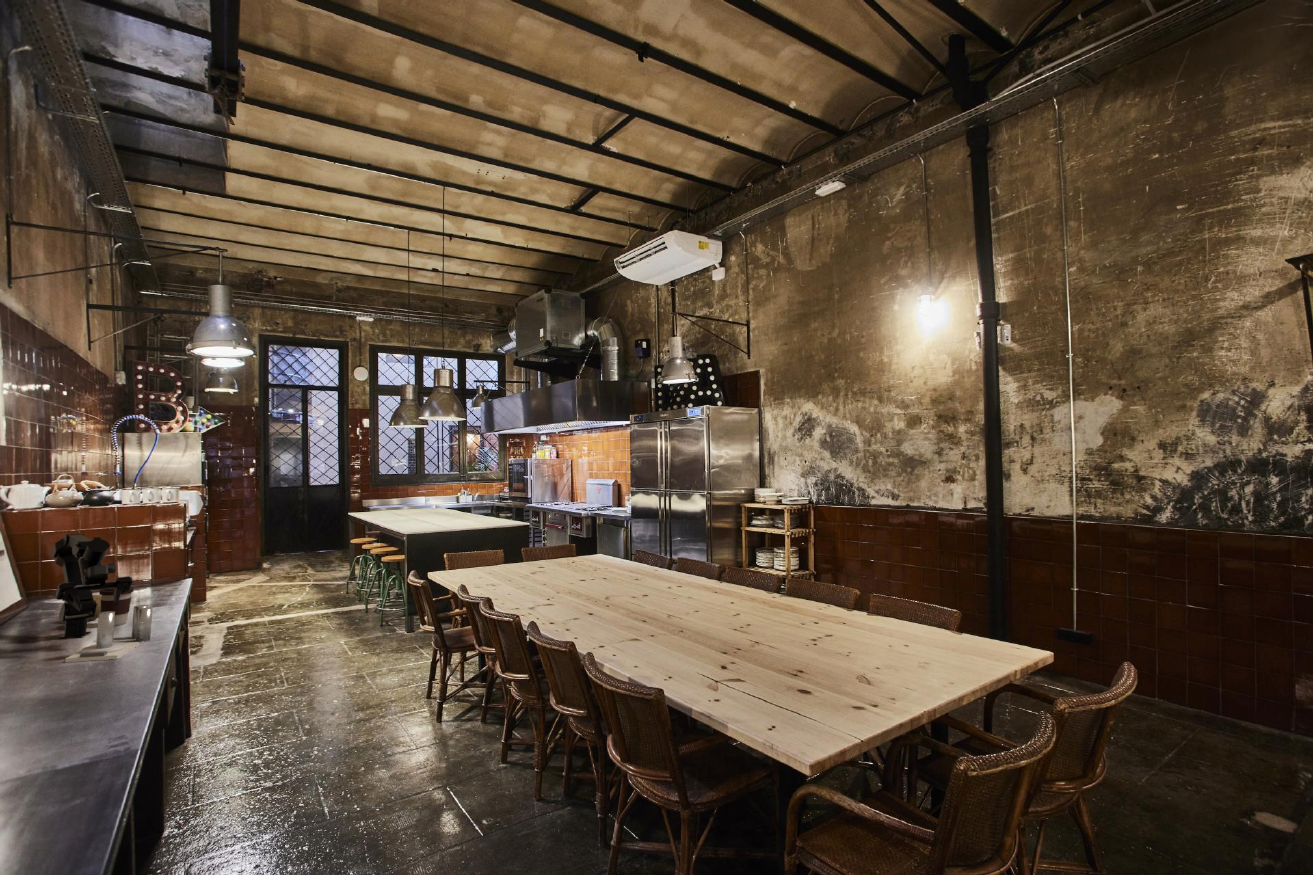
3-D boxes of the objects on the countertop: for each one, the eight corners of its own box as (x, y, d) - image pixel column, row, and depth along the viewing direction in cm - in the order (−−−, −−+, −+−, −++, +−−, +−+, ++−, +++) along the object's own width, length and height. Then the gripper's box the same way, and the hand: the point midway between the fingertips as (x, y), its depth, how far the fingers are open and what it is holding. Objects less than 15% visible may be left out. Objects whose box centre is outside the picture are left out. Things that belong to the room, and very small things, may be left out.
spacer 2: (134, 636, 221) (136, 605, 222) (147, 635, 223) (150, 604, 223) (129, 639, 218) (131, 607, 218) (143, 638, 219) (145, 606, 220)
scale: (91, 648, 206) (92, 640, 206) (139, 645, 210) (139, 638, 211) (65, 662, 191) (65, 654, 191) (116, 659, 195) (117, 651, 196)
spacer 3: (138, 639, 218) (140, 607, 218) (152, 638, 219) (154, 607, 220) (133, 642, 214) (135, 610, 215) (147, 641, 215) (149, 609, 216)
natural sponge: (86, 624, 236) (88, 597, 236) (68, 622, 237) (70, 596, 238) (111, 618, 244) (113, 593, 245) (94, 617, 246) (96, 591, 247)
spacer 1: (95, 646, 201) (98, 612, 202) (112, 644, 204) (114, 610, 204) (96, 649, 198) (98, 614, 199) (112, 647, 201) (115, 613, 201)
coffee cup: (138, 621, 241) (140, 583, 241) (113, 628, 231) (116, 587, 232) (115, 620, 242) (117, 581, 242) (89, 626, 232) (92, 586, 233)
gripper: (60, 558, 202) (66, 597, 195) (132, 553, 217) (140, 589, 210) (52, 579, 207) (58, 618, 200) (124, 572, 222) (132, 608, 215)
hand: (98, 607), depth 206 cm, fingers open, 9 cm apart
